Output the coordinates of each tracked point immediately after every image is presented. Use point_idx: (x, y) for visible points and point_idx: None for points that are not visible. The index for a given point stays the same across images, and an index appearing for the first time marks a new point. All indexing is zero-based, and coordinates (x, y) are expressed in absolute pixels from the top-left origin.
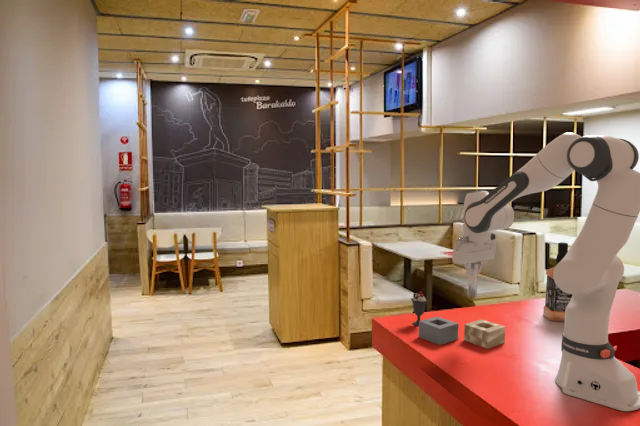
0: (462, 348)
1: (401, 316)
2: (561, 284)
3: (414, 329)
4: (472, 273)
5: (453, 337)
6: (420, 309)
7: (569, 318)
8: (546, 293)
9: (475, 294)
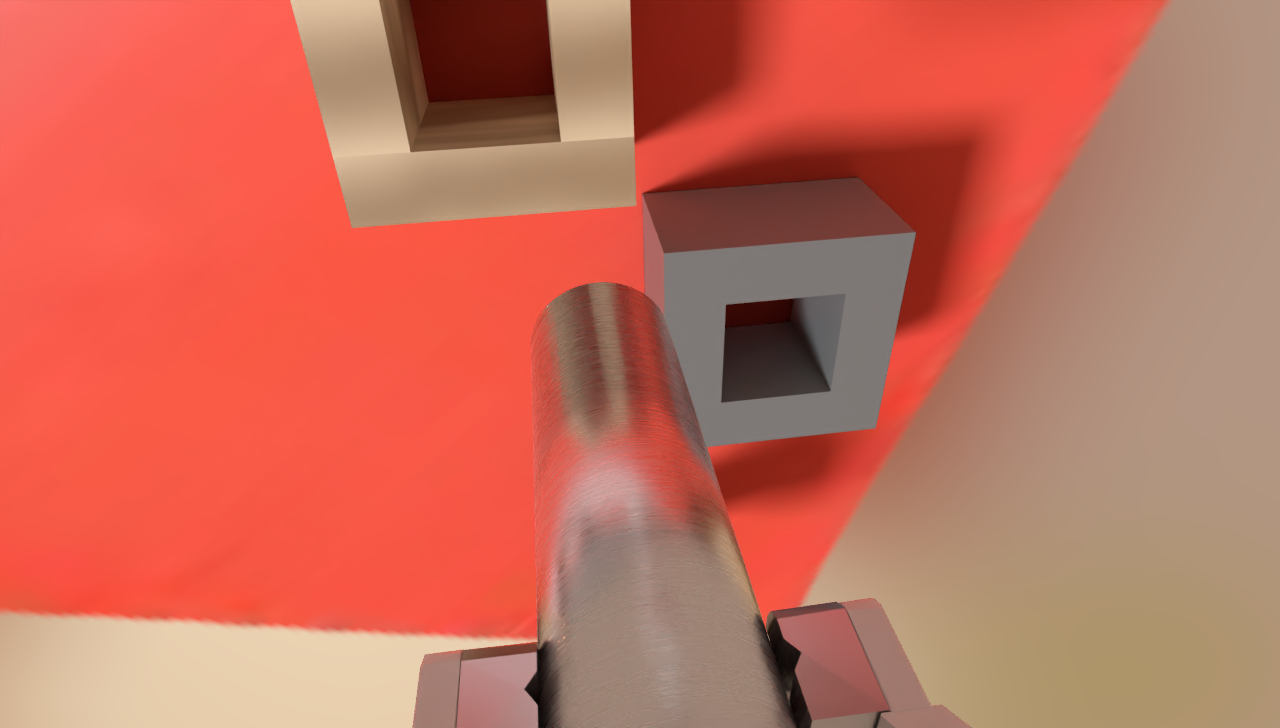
0: (783, 26)
1: None
2: None
3: (734, 459)
4: (783, 623)
5: (704, 199)
6: None
7: None
8: None
9: (614, 300)
